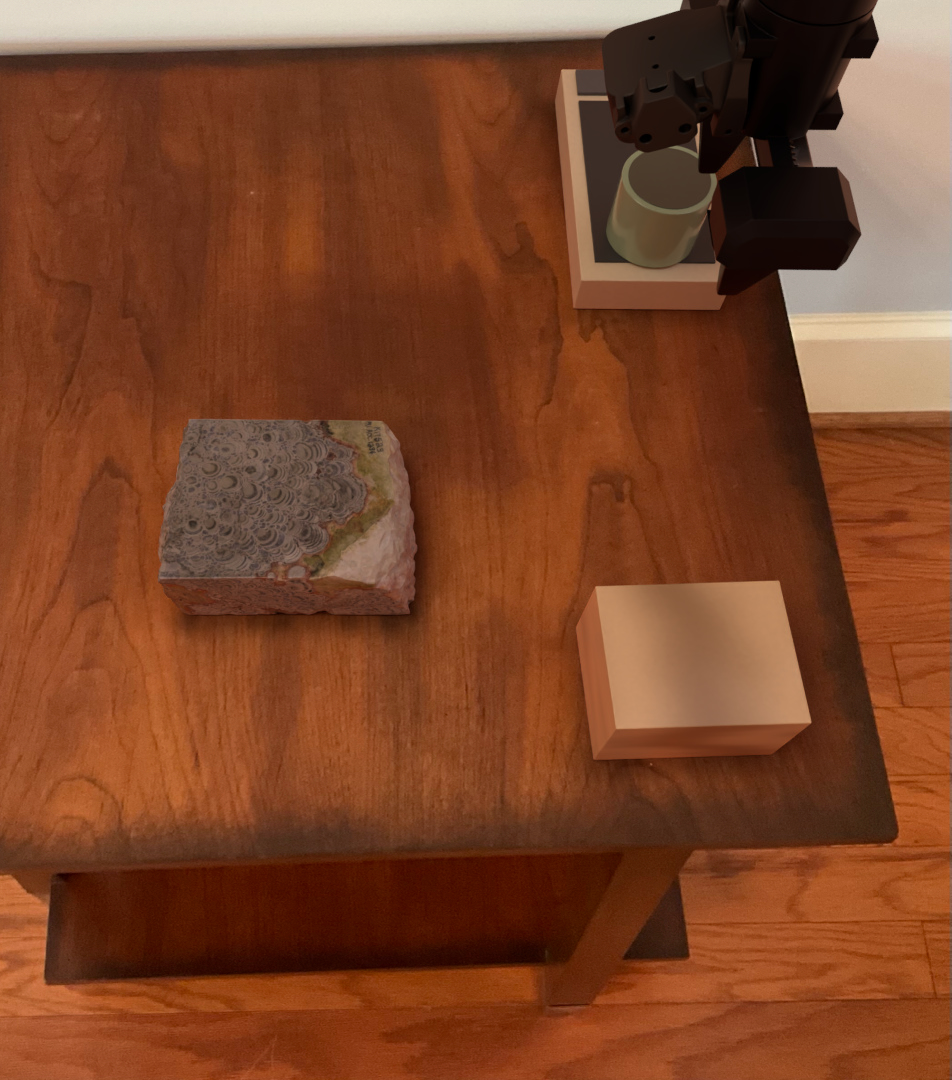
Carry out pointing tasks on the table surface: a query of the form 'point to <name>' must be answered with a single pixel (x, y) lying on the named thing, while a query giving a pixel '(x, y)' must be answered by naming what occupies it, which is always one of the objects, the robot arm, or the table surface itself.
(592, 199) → the copier
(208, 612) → the geological specimen
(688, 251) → the cup
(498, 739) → the table surface
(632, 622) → the riser
